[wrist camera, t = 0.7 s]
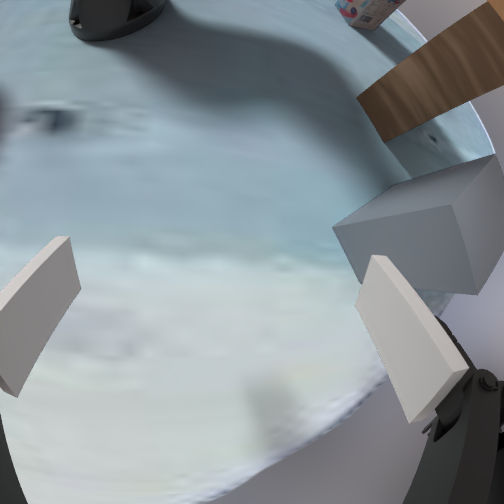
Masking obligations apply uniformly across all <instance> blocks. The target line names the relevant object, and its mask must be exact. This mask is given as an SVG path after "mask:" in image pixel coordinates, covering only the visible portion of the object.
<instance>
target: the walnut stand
mask: <svg viewBox="0 0 504 504" xmlns="http://www.w3.org/2000/svg"><path fill="white" fill-rule="evenodd" d="M503 85H504V21H503V20H502V19H501V17H500V16H499V15H498V13H497V12H496V11H495V9H494V8H493V7H492V6H491V4H490V3H489V2H488V1H487V2H486V3H484V4H483V5H481V6H480V7H478V8H477V9H475V10H473V11H472V12H470V13H469V14H467V15H466V16H464V17H463V18H462V19H460V20H459V21H457V22H456V23H454V24H453V25H451V26H450V27H448V28H447V29H445V30H444V31H443V32H441V33H440V34H438V35H437V36H436V37H434V38H433V39H431V40H430V41H429V42H427V43H426V44H424V45H423V46H422V47H420V48H419V49H418V50H416V51H415V52H414V53H412V54H411V55H410V56H408V57H407V58H406V59H404V60H403V61H402V62H400V63H399V64H398V65H397V66H395V67H394V68H393V69H391V70H390V71H389V72H388V73H386V74H385V75H384V76H382V77H381V78H380V79H379V80H377V81H376V82H375V83H374V84H372V85H371V86H370V87H369V88H367V89H366V90H365V91H364V92H362V93H361V94H360V95H359V96H358V97H356V98H357V100H358V101H359V103H360V104H361V106H362V107H363V109H364V110H365V112H366V113H367V115H368V117H369V118H370V120H371V121H372V123H373V125H374V126H375V128H376V130H377V131H378V133H379V135H380V137H381V138H382V140H383V142H384V143H385V142H387V141H389V140H391V139H393V138H395V137H397V136H399V135H401V134H403V133H405V132H407V131H408V130H410V129H412V128H414V127H416V126H418V125H420V124H422V123H424V122H427V121H429V120H431V119H433V118H435V117H437V116H439V115H441V114H443V113H445V112H447V111H449V110H451V109H453V108H455V107H457V106H459V105H462V104H464V103H466V102H468V101H470V100H472V99H474V98H476V97H479V96H481V95H483V94H485V93H487V92H490V91H492V90H494V89H496V88H498V87H501V86H503Z"/></svg>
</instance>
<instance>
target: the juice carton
mask: <svg viewBox="0 0 504 504" xmlns="http://www.w3.org/2000/svg"><path fill="white" fill-rule="evenodd" d="M405 1H406V0H337V1H336V2H335V6H336V7H337V8H338V10H339V11H340V13H341V14H342V16H343V17H344V19H345V20H346V22H347V23H348V25H350V26H355V27H360V28H364V29H369V30H373V31H374V30H375V29H376V28H377V27H378V26H379V25H380V24H381V23H382V22H383V21H384V20H385V19H386V18H387V17H389V16H390V15H391V14H392V13H393V12H394V11H395V10H396V9H397V8H398V7H399V6H400V5H401V4H402V3H403V2H405Z"/></svg>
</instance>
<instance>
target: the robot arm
mask: <svg viewBox="0 0 504 504" xmlns="http://www.w3.org/2000/svg"><path fill="white" fill-rule="evenodd" d="M164 2H165V0H71V5H70V12H69V23H70V26H71V29H72V32H73V33H74V35H75V36H77V37H78V38H80V39H83V40H88V41H102V40H109V39H113V38H117V37H121V36H124V35H127V34H130V33H132V32H134V31H136V30H139V29H141V28H142V27H144V26H146V25H147V24H149V23H150V22H152V21H153V20H154V19H155V18H156V17H157V16H158V15H159V14H160V13H161V11H162V10H163V7H164ZM80 290H81V286H80V282H79V278H78V274H77V270H76V265H75V261H74V257H73V252H72V247H71V242H70V237H65V236H56V237H55V238H54V239H53V240H52V241H51V242H50V243H48V244H47V245H46V246H45V247H44V248H43V249H42V250H41V251H40V252H39V253H38V254H37V255H36V256H35V257H34V258H33V259H32V260H31V261H29V262H28V263H27V264H26V265H25V266H24V267H23V269H22V270H21V271H20V272H19V273H18V274H17V275H16V276H15V277H14V278H13V279H12V280H11V281H10V282H9V283H8V284H7V285H6V286H5V288H4V289H3V290H2V291H1V292H0V387H1V389H2V390H3V391H4V392H6V393H8V394H10V395H12V396H14V397H17V398H18V395H19V393H20V391H21V389H22V387H23V385H24V383H25V381H26V379H27V377H28V375H29V374H30V372H31V370H32V368H33V366H34V364H35V362H36V361H37V359H38V357H39V355H40V353H41V352H42V350H43V348H44V346H45V345H46V343H47V341H48V340H49V338H50V336H51V335H52V333H53V331H54V330H55V328H56V327H57V325H58V323H59V322H60V320H61V319H62V317H63V315H64V314H65V312H66V311H67V309H68V308H69V306H70V305H71V303H72V302H73V300H74V299H75V297H76V296H77V294H78V293H79V292H80ZM355 307H356V309H357V311H358V313H359V315H360V317H361V319H362V321H363V323H364V325H365V327H366V329H367V331H368V333H369V335H370V337H371V339H372V341H373V343H374V345H375V347H376V349H377V352H378V354H379V356H380V358H381V360H382V362H383V365H384V367H385V369H386V371H387V373H388V376H389V378H390V380H391V382H392V385H393V387H394V389H395V392H396V394H397V396H398V398H399V401H400V403H401V406H402V408H403V410H404V413H405V415H406V418H407V420H408V423H409V424H411V423H414V422H418V421H421V420H424V419H426V418H427V417H428V416H429V415H430V414H431V413H432V412H433V411H434V410H435V411H436V413H437V416H436V417H435V418H434V419H433V420H432V421H431V422H430V423H429V424H428V425H427V426H426V427H425V428H424V430H423V431H422V433H423V434H424V433H425V432H427V431H428V430H429V429H430V428H431V430H430V433H429V434H428V436H429V437H428V440H427V443H426V446H425V449H424V452H423V455H422V458H421V461H420V463H419V466H418V469H417V472H416V474H415V477H414V479H413V481H412V484H411V486H410V489H409V491H408V493H407V495H406V497H405V499H404V502H403V504H504V432H502V430H501V427H502V426H503V425H504V381H498V380H497V378H496V377H495V376H494V374H493V373H491V372H490V371H488V370H484V369H479V370H477V369H476V368H475V366H474V365H473V363H472V362H471V360H470V358H469V357H468V356H467V354H466V352H465V351H464V349H463V348H462V347H461V345H460V344H459V343H457V339H456V338H455V336H454V335H452V332H451V331H450V329H449V328H448V327H447V325H446V324H445V323H444V322H443V321H441V320H440V319H439V318H438V317H437V316H434V315H433V314H432V313H431V311H430V310H429V309H428V307H427V306H426V305H425V303H424V302H423V301H422V299H421V298H420V297H419V295H418V294H417V293H416V292H415V290H414V289H413V288H412V286H411V285H410V284H409V283H408V281H407V280H406V279H405V278H404V277H403V275H402V274H401V273H400V272H399V270H398V269H397V268H396V267H395V266H394V264H393V263H392V262H391V261H390V260H389V259H388V257H387V256H382V255H371V259H370V262H369V265H368V268H367V271H366V275H365V278H364V281H363V284H362V287H361V290H360V292H359V295H358V298H357V301H356V304H355ZM0 504H28V503H27V501H26V498H25V496H24V493H23V491H22V488H21V486H20V483H19V480H18V478H17V475H16V472H15V469H14V466H13V463H12V459H11V456H10V453H9V449H8V445H7V442H6V438H5V433H4V429H3V425H2V420H1V415H0Z"/></svg>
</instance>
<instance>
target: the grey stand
mask: <svg viewBox="0 0 504 504" xmlns="http://www.w3.org/2000/svg"><path fill="white" fill-rule="evenodd" d="M332 228H333V230H334V232H335V234H336V236H337V238H338V240H339V242H340V244H341V246H342V248H343V250H344V252H345V254H346V256H347V258H348V260H349V262H350V264H351V266H352V268H353V270H354V272H355V274H356V276H357V278H358V280H359V282H363V281H364V278H365V275H366V271H367V268H368V265H369V262H370V259H371V255H382V256H387V257H388V259H389V260H390V261H391V262H392V263H393V264H394V266H395V267H396V268H397V269H398V270H399V272H400V273H401V274H402V275H403V277H404V278H405V279H406V280H407V281H408V283H409V284H410V285H411V286H412V288H414V289H423V290H432V291H441V292H451V293H461V294H470V295H478V294H479V292H480V291H481V289H482V287H483V286H484V284H485V283H486V281H487V279H488V278H489V276H490V274H491V273H492V271H493V269H494V267H495V266H496V264H497V262H498V260H499V259H500V257H501V255H502V253H503V251H504V175H503V172H502V169H501V166H500V164H499V161H498V158H497V156H496V154H492V155H489V156H486V157H482V158H479V159H475V160H472V161H469V162H465V163H462V164H459V165H456V166H452V167H449V168H446V169H443V170H439V171H436V172H433V173H430V174H426V175H423V176H420V177H417V178H414V179H411V180H407V181H404V182H401V183H398V184H395V185H393V186H391V187H390V188H389V189H387V190H386V191H384V192H383V193H381V194H380V195H379V196H377V197H376V198H374V199H373V200H371V201H370V202H368V203H367V204H365V205H364V206H362V207H361V208H360V209H358V210H357V211H355V212H354V213H352V214H351V215H349V216H348V217H346V218H345V219H343V220H342V221H340V222H339V223H337V224H336V225H334V226H333V227H332Z"/></svg>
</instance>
